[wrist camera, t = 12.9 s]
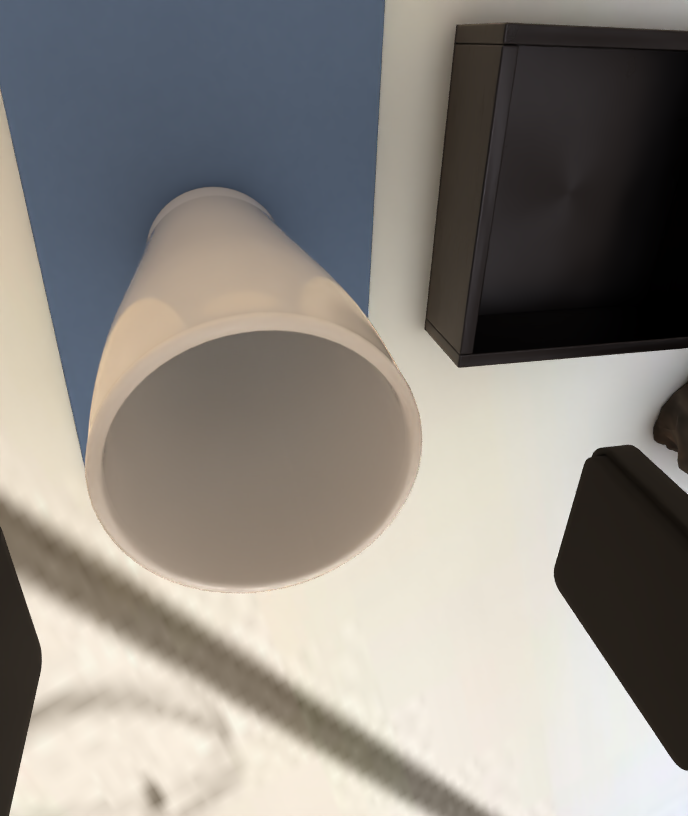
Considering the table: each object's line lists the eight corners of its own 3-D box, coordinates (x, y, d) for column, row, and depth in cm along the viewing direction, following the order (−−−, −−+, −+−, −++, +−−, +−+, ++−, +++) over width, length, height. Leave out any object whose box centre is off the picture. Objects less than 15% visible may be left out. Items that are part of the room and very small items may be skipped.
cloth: (-34, -73, 18) (-37, -75, 18) (384, -44, 21) (387, -46, 21) (87, 471, 29) (86, 475, 28) (359, 441, 31) (361, 445, 31)
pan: (453, 24, 23) (506, 22, 20) (727, 36, 26) (817, 36, 22) (422, 327, 29) (457, 368, 26) (645, 312, 32) (705, 347, 28)
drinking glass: (266, 350, 27) (348, 615, 15) (106, 303, 25) (42, 577, 12) (325, 203, 25) (487, 372, 12) (154, 131, 22) (135, 255, 10)
